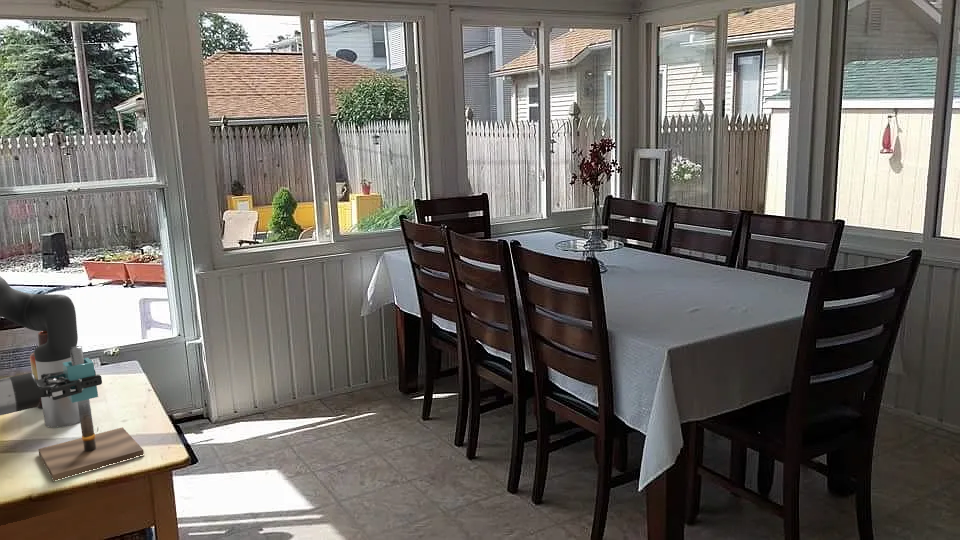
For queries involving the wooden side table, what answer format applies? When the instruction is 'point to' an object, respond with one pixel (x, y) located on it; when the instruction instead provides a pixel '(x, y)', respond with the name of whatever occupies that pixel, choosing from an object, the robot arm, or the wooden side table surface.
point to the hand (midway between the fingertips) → (97, 376)
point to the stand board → (89, 453)
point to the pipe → (84, 407)
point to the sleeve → (81, 372)
